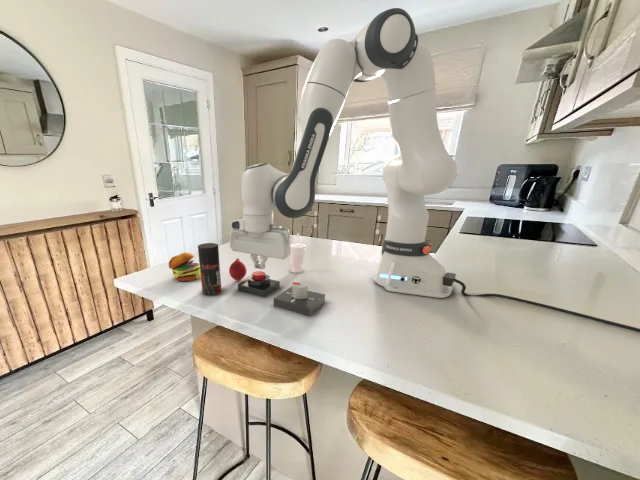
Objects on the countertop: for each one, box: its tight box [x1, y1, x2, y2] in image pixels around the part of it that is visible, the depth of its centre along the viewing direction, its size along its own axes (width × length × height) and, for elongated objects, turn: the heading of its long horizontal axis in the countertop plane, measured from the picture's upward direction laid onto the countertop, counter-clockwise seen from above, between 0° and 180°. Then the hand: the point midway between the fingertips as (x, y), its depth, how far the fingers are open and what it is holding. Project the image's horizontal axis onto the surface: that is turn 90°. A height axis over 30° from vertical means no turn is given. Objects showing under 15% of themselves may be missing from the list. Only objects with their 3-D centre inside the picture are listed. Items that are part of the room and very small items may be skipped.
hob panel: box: [273, 286, 326, 317], centre depth 86 cm, size 11×10×3 cm
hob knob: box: [291, 281, 309, 299], centre depth 85 cm, size 4×4×4 cm
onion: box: [228, 257, 247, 282], centre depth 103 cm, size 6×6×8 cm
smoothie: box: [289, 232, 307, 274], centre depth 110 cm, size 6×6×14 cm
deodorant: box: [197, 242, 222, 297], centre depth 93 cm, size 6×6×15 cm
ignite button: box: [251, 270, 266, 280], centre depth 96 cm, size 4×4×2 cm
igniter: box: [237, 273, 281, 298], centre depth 97 cm, size 10×9×4 cm
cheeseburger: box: [168, 251, 201, 282], centre depth 108 cm, size 10×11×10 cm
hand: (259, 268), depth 95 cm, fingers closed
